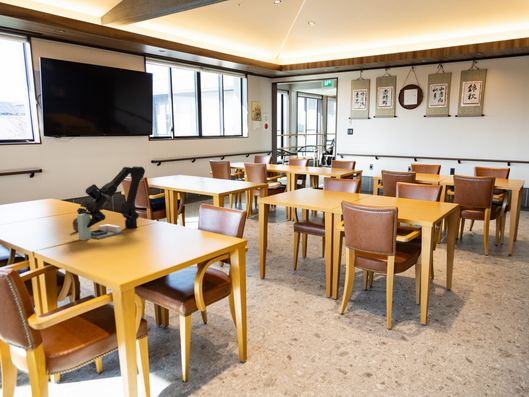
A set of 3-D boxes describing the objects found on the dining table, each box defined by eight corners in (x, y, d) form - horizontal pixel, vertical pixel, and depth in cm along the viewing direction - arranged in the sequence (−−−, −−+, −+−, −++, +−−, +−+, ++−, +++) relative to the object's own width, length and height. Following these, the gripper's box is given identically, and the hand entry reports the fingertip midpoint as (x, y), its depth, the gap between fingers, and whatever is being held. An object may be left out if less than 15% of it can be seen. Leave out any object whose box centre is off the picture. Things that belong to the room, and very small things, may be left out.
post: (85, 237, 228) (84, 213, 226) (90, 238, 226) (89, 214, 224) (78, 239, 224) (77, 214, 222) (83, 240, 222) (82, 215, 220)
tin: (76, 232, 239) (75, 219, 237) (72, 232, 239) (71, 218, 238) (92, 227, 253) (91, 214, 252) (87, 226, 254) (87, 213, 252)
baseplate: (108, 229, 247) (108, 223, 246) (124, 232, 240) (123, 226, 239) (82, 235, 232) (82, 229, 231) (98, 239, 225) (97, 232, 224)
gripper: (78, 194, 230) (62, 216, 222) (99, 197, 220) (83, 220, 213) (91, 205, 238) (75, 227, 230) (112, 208, 228) (96, 231, 220)
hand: (82, 226), depth 223 cm, fingers open, 9 cm apart
